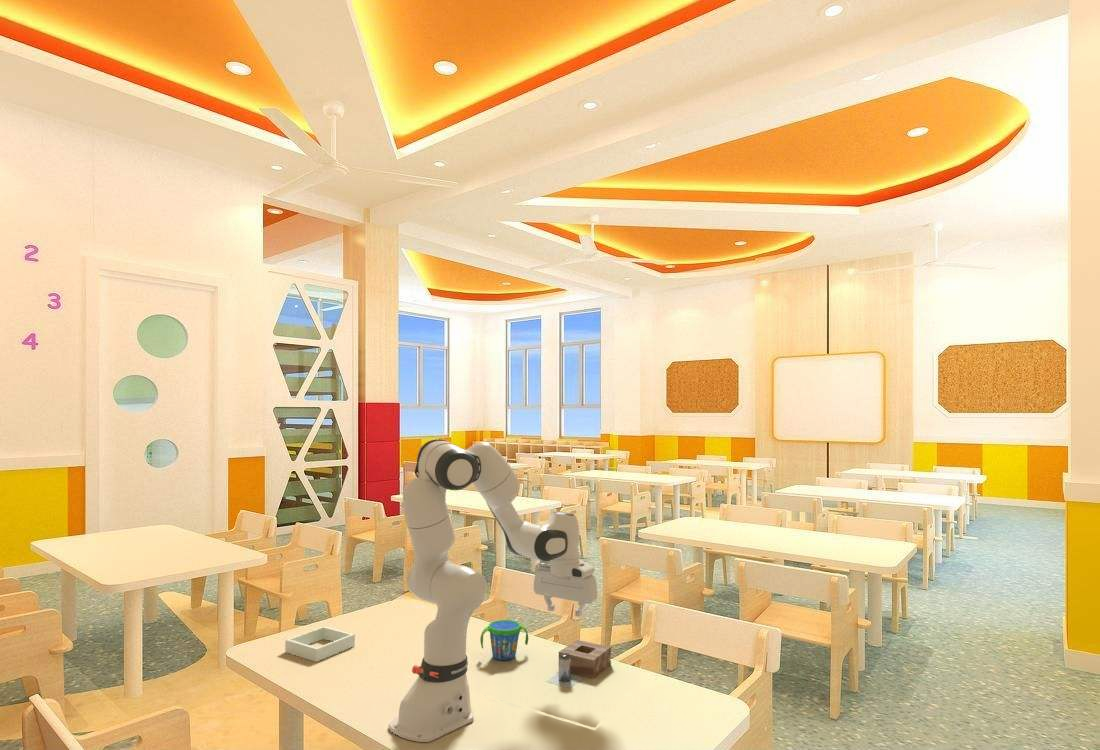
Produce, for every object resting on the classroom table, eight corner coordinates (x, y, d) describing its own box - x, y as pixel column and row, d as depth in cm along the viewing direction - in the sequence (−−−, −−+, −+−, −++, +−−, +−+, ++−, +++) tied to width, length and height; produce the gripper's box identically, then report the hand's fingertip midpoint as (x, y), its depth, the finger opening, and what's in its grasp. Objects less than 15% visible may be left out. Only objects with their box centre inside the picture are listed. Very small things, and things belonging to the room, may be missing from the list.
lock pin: (567, 683, 182) (567, 658, 183) (556, 680, 184) (556, 656, 184) (572, 678, 185) (573, 654, 186) (562, 676, 187) (562, 652, 188)
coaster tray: (316, 662, 198) (316, 649, 198) (285, 652, 206) (285, 639, 206) (354, 646, 211) (354, 634, 212) (323, 637, 219) (324, 626, 220)
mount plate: (569, 690, 179) (569, 687, 179) (546, 683, 183) (546, 681, 183) (583, 679, 186) (583, 677, 186) (559, 673, 190) (559, 671, 190)
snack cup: (526, 649, 209) (526, 618, 210) (529, 662, 199) (530, 629, 200) (479, 651, 207) (480, 620, 208) (480, 664, 197) (480, 631, 197)
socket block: (593, 680, 185) (593, 660, 186) (558, 671, 192) (558, 651, 192) (610, 666, 196) (610, 647, 196) (577, 658, 202) (577, 639, 202)
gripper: (529, 564, 189) (529, 610, 189) (589, 573, 179) (590, 622, 178) (540, 559, 195) (540, 604, 194) (599, 568, 184) (599, 615, 184)
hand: (564, 613), depth 186 cm, fingers open, 8 cm apart
